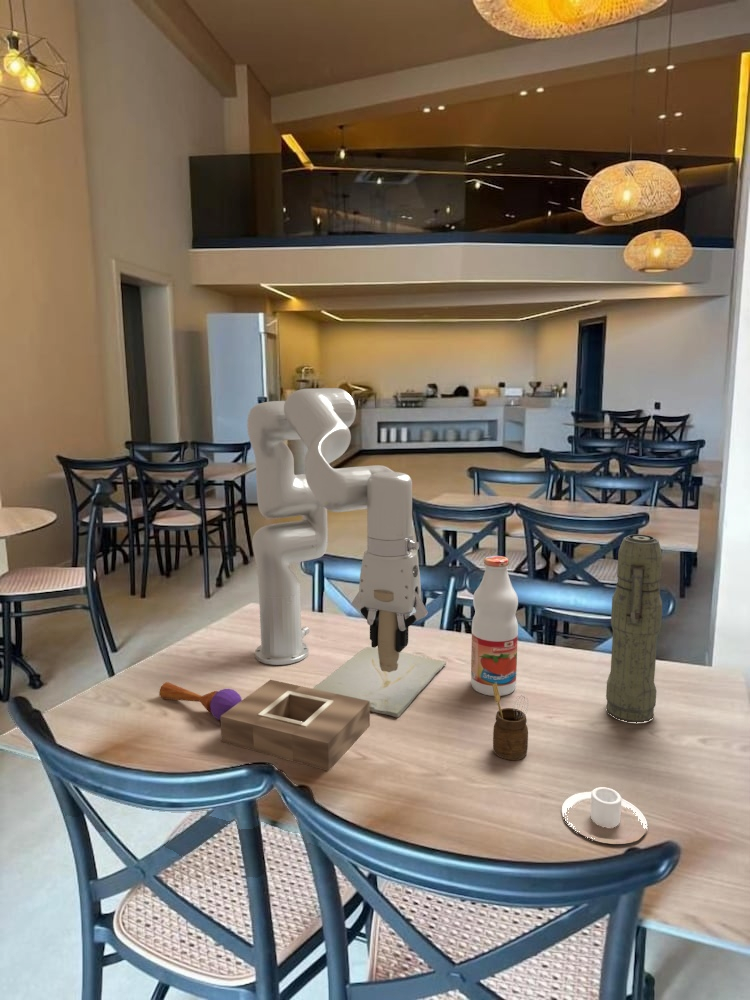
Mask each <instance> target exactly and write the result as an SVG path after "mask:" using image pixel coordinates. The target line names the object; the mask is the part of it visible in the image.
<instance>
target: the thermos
mask: <svg viewBox="0 0 750 1000" xmlns="http://www.w3.org/2000/svg"><path fill="white" fill-rule="evenodd" d="M617 556H618V559H617V569H616V570H617V571H616V573H617V574H616V575H617V576H616V577H617V582H616V588H615V591H614V593H613V595H612V598H611V599H612V600H611V616H610V617H611V618H610V626H611V628H612V645H611V656H610V657H611V658H610V659H611V660H610V673H609V674H608V677H607V680H606V689H605V690H606V693H605V694H606V695H605V697H606V698H605V699H606V707H605V708H606V709H607V711H608V713H609V714H611V715H612V716H614V717H615V718H617V719H620V720H624V721H627V722H636V723H637V722H644V721H649V720H650V719H652V718H653V716H654V717H655V713H654V712H655V707H656V706H657V705H656V701H657V686H656V684H655V673H656V661H657V647H658V646H657V645H658V635H659V633H660V631H661V629H662V627H661V626H662V619H663V618H662V616H663V601H662V597H661V594H660V593H661V588H660V587H661V586H660V582H661V580H662V565H663V551H662V547H661V545H660V541H659V539H657V538H655V536H652V535H649V534H648V535H647V534H629V535H627V536H625V537H623V539H622V541H621V544H620V546H619V548H618V555H617ZM606 709H605V710H606ZM607 711H606V712H607ZM608 713H607V714H608ZM609 714H608V715H609ZM653 719H654V718H653Z"/></svg>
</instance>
